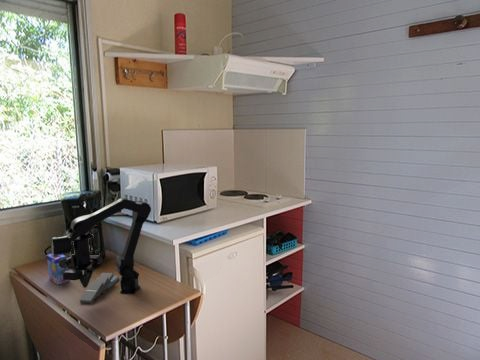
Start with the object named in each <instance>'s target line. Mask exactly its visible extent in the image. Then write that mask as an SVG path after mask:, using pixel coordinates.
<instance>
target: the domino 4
mask: <svg viewBox="0 0 480 360" xmlns="http://www.w3.org/2000/svg"><path fill="white" fill-rule="evenodd" d="M119 279H120V277H119V275H113V278H112V279H111V281H110V283H109V285H108V286H107V288H106V290H109V289H110V288H111V287H112V286H113V285H114V284H115V283H117V282H118V281H119Z"/></svg>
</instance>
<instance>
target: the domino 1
mask: <svg viewBox="0 0 480 360" xmlns="http://www.w3.org/2000/svg"><path fill="white" fill-rule="evenodd" d="M103 285H104V284H103V282H95V280H94V281H91V282H90V283H89V284H88V286H87V287H86V288H85V289H86V290H85V291H84V292H83V294H82V295H81V297H80V298H79V302H80V303H82V304H93V302H94V301H95V300H96V299H97V298H96V296H97V295H98V293H99V292H100V290H101V288H102V287H103Z"/></svg>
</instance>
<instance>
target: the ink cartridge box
mask: <svg viewBox="0 0 480 360" xmlns="http://www.w3.org/2000/svg"><path fill="white" fill-rule="evenodd" d="M50 252H51V253H48V254H46V260H47V261H46V262H47V271H48V277H49V278H48V279H49V280H50V281H52V282H53V283H55V284H56V285H58V284H59V285H61V284H64V283H68V282H70V281H71V280H63V277H62V274H63V273H64V272H65V271H67V270H69V267H67V268H65V269H63V268H61V267H60V266H59V260H61V259H64V258H68V257H67V255H65V254H61V255H56V256H53V253H52V250H50Z"/></svg>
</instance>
